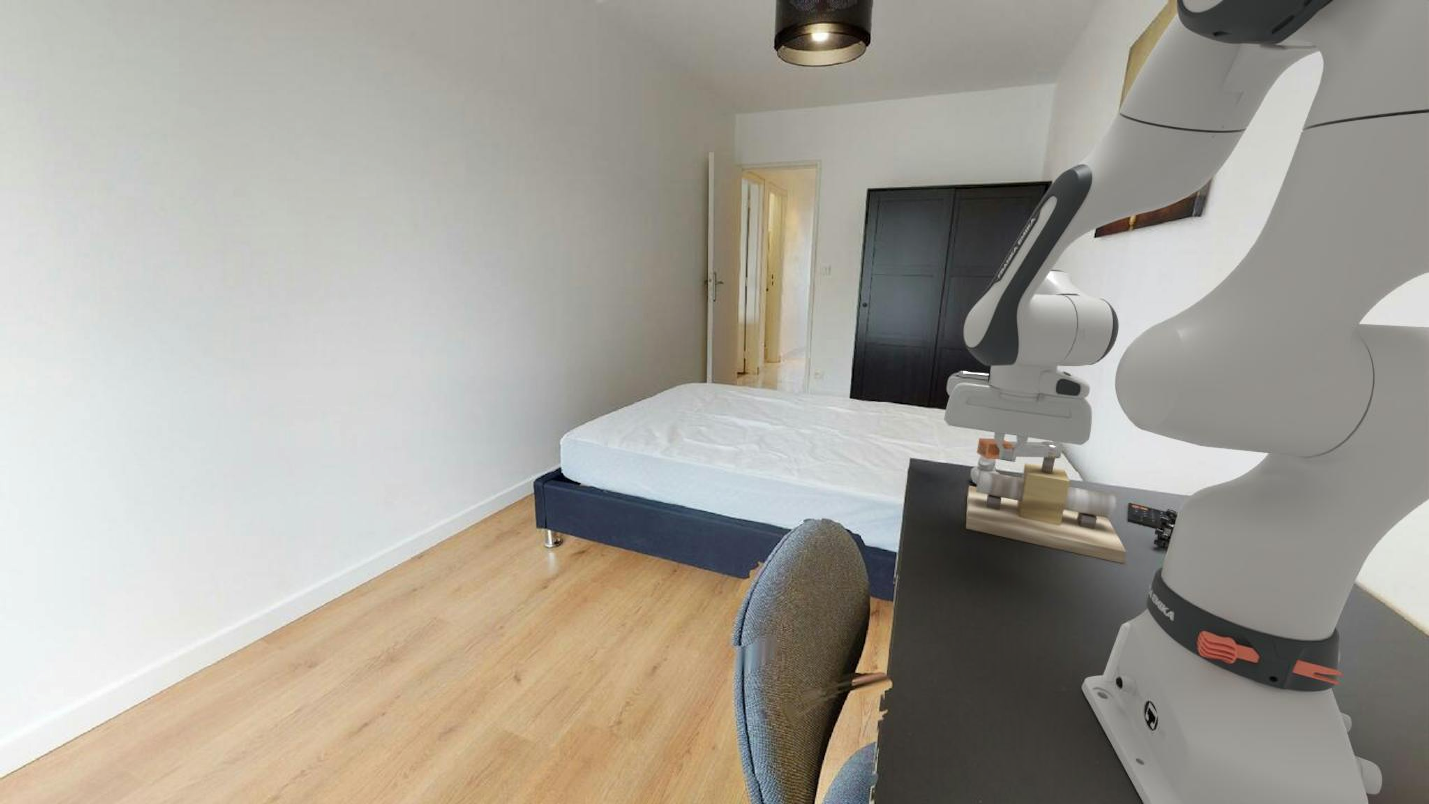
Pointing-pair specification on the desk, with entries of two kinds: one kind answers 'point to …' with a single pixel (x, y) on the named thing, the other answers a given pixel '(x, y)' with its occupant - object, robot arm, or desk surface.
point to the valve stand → (1045, 511)
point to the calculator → (1145, 515)
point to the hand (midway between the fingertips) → (1006, 459)
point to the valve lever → (1031, 449)
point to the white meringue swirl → (983, 468)
